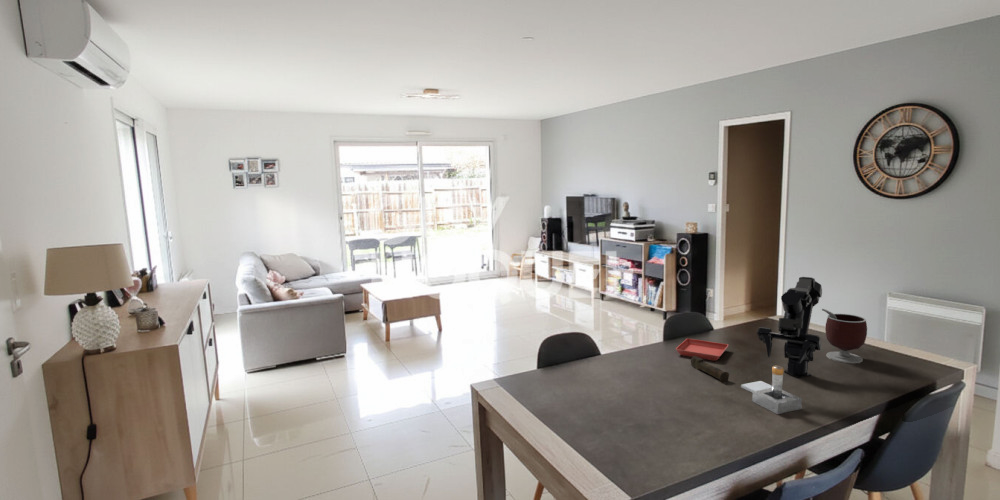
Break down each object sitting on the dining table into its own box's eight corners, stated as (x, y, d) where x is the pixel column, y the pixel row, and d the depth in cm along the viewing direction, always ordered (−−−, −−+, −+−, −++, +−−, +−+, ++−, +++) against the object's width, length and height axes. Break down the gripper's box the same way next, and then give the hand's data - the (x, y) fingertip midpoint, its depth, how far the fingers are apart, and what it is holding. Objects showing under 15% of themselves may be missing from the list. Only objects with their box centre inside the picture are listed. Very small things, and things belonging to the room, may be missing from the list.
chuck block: (775, 396, 169) (775, 386, 168) (801, 408, 159) (801, 398, 159) (752, 401, 166) (752, 391, 165) (777, 414, 156) (777, 403, 156)
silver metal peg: (775, 401, 165) (777, 364, 164) (787, 406, 161) (788, 368, 160) (765, 403, 164) (767, 366, 162) (776, 409, 160) (778, 370, 158)
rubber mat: (760, 383, 180) (760, 380, 180) (781, 392, 172) (781, 390, 172) (741, 387, 177) (741, 384, 177) (761, 397, 169) (761, 394, 169)
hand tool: (729, 381, 183) (730, 369, 183) (720, 383, 182) (720, 371, 182) (696, 364, 201) (697, 353, 201) (688, 365, 200) (688, 354, 200)
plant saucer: (686, 344, 226) (686, 337, 226) (729, 351, 216) (729, 344, 215) (674, 356, 212) (675, 348, 211) (719, 364, 201) (720, 356, 201)
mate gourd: (863, 355, 204) (866, 308, 202) (866, 366, 193) (869, 316, 190) (819, 349, 213) (821, 304, 210) (819, 360, 201) (822, 312, 199)
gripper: (759, 304, 174) (749, 342, 168) (821, 312, 162) (813, 353, 155) (764, 321, 181) (755, 358, 175) (824, 329, 169) (816, 370, 162)
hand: (783, 359), depth 167 cm, fingers open, 9 cm apart
